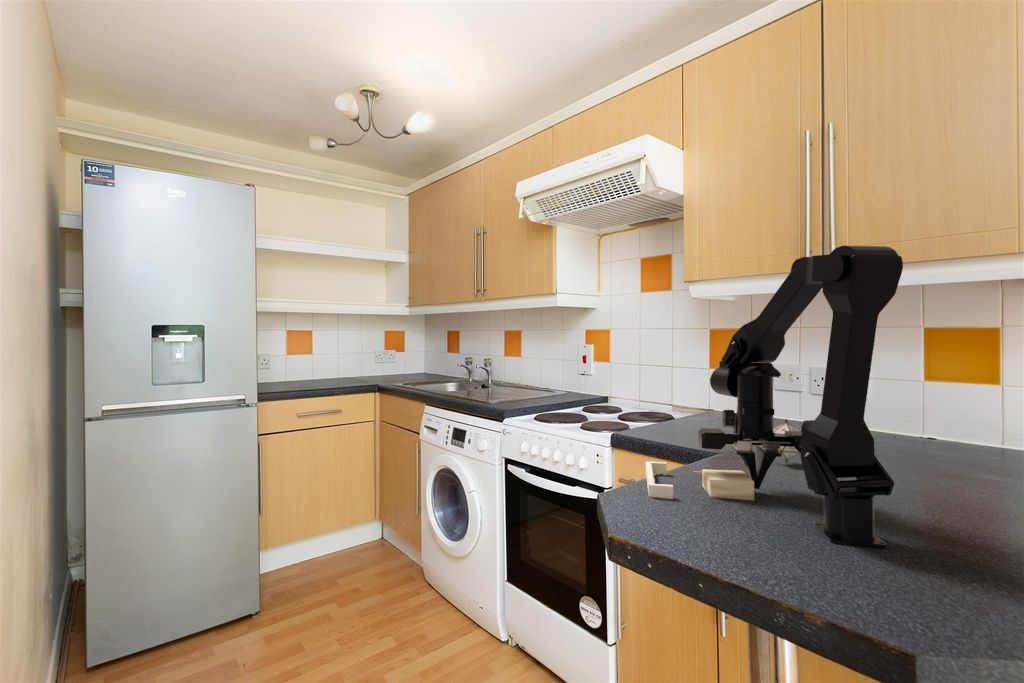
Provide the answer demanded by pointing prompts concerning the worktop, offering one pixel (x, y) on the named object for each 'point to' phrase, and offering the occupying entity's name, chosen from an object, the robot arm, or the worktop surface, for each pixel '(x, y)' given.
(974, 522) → the worktop surface
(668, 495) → the cream u-shaped piece
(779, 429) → the game die
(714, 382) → the robot arm
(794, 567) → the worktop surface
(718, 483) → the birch block
